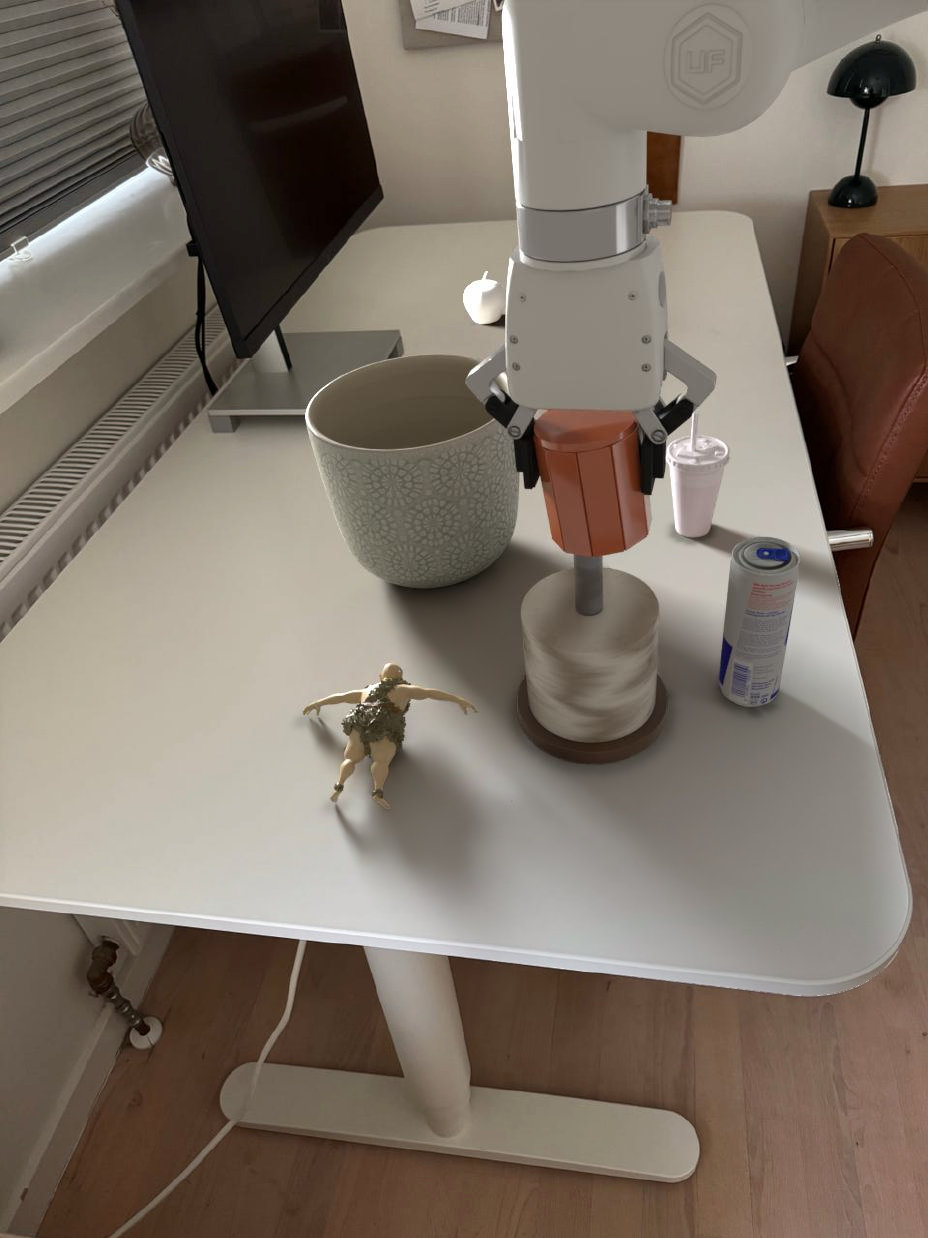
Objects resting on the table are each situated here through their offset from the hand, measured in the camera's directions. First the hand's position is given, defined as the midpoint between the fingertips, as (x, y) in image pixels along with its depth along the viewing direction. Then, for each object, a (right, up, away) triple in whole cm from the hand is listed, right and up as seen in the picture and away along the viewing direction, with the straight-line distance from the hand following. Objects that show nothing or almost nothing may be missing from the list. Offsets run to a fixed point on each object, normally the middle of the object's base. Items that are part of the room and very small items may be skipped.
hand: (590, 480), depth 64 cm
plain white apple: (-5, +40, +86) cm, 95 cm away
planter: (-12, -3, +35) cm, 37 cm away
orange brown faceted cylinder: (+1, -3, +3) cm, 4 cm away
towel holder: (+2, -18, +15) cm, 23 cm away
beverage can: (+16, -16, +14) cm, 27 cm away
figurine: (-16, -21, +14) cm, 30 cm away
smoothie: (+16, 0, +34) cm, 38 cm away
